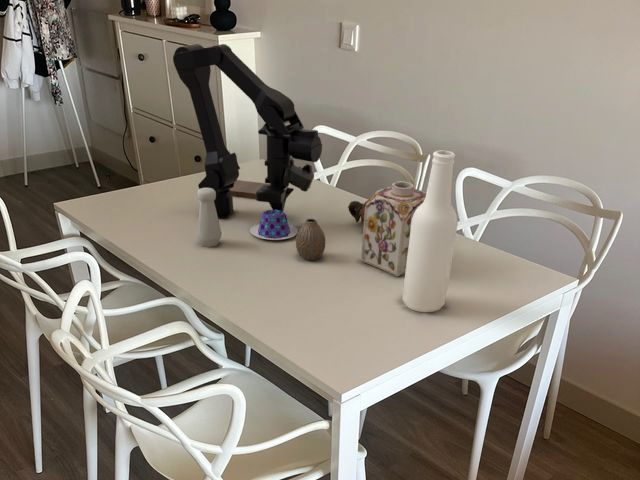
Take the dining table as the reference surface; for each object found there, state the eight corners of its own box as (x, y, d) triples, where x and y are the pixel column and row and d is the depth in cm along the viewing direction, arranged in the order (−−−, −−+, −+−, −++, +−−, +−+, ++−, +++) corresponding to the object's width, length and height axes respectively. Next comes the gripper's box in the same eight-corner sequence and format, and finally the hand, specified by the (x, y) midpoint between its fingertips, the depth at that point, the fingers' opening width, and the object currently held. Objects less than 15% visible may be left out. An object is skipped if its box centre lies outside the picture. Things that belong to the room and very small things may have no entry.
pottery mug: (392, 224, 176) (399, 202, 168) (380, 250, 172) (386, 229, 164) (351, 206, 176) (356, 184, 169) (337, 232, 173) (342, 210, 165)
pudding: (279, 246, 160) (279, 225, 156) (240, 235, 165) (239, 214, 161) (307, 232, 168) (307, 211, 165) (268, 221, 173) (268, 201, 170)
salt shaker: (224, 240, 162) (221, 186, 154) (219, 249, 157) (216, 193, 149) (201, 238, 162) (196, 184, 154) (195, 247, 157) (190, 192, 150)
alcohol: (415, 316, 133) (436, 161, 115) (394, 297, 139) (411, 148, 121) (452, 309, 136) (478, 157, 118) (430, 291, 142) (451, 145, 124)
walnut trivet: (224, 195, 188) (224, 189, 188) (236, 184, 196) (236, 179, 195) (264, 200, 186) (264, 194, 185) (274, 189, 194) (274, 184, 193)
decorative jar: (392, 249, 161) (400, 173, 150) (429, 264, 154) (441, 185, 143) (358, 261, 154) (364, 183, 143) (396, 278, 147) (406, 196, 137)
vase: (314, 265, 151) (315, 227, 146) (289, 258, 154) (290, 221, 149) (330, 255, 156) (332, 219, 151) (305, 249, 159) (306, 212, 154)
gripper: (301, 169, 151) (300, 236, 160) (320, 148, 165) (318, 210, 175) (254, 165, 152) (256, 230, 162) (277, 144, 167) (277, 205, 176)
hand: (279, 219), depth 169 cm, fingers closed
